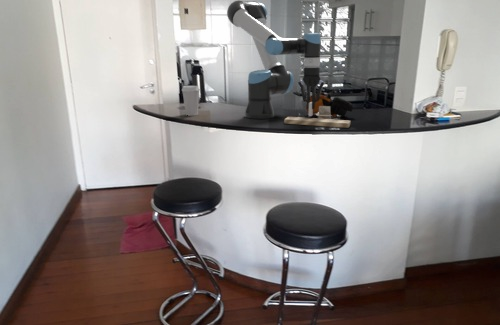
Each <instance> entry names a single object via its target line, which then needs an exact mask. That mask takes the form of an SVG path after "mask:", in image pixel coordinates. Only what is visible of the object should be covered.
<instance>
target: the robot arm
mask: <svg viewBox="0 0 500 325" xmlns="http://www.w3.org/2000/svg"><path fill="white" fill-rule="evenodd" d="M226 15H227V19H228V21H229V22H230V23H231V24H232V25H234V26H235V27H236V28H240V29H242V30H243V31H244V32H246V33H247V34H249V36H251V37H252V39H253V42H254V44H255V47H256V49H257V53H258V55H259V57H260V60H261V62H262V65H263V67H264V69H257V70H253V71H250V72H249V73H248V78H247V79H248V80H247V83H248V84H247V86H248V87H247V88H248V92H247V93H248V95H247V96H248V102H247V104H246V108H245V112H244V117H245V118H248V119H253V120H265V119H267V120H268V119H272V118H275V111H274V108H273V104H272V96H274V95H284V94H287V93H289V92H291V90H292V89H293V87H294V83H295V79H294V75H293V73H292V72H291V71H288V70H286V67H285V65H284V64H282V63H280V60H279V57H278V56H283V55H291V56H294V55H304V56H303V60H304V61H303V66H304V67H303V77H302V79H301V80H300V81H298V82H297V83H298V85H299V87H300V92H301V96H302V100H303V102H306V104H307V109H309V115H308V117H312V116H314V114H313V109H315V102H317V101H319V98H320V95H322V90H323V87H324V86H325V84H326V82H325V81H323V80H322V79H321V77H320V75H321V73H320V72H321V67H320V66H321V46H322V45H321V43H322V40H321V38H322V37H321V36H322V35H321V34H320V33H319V32H309V33H304V37H300V38H299V37H296V38H295V37H293V38H290V37H287V38H286V37H285V38H284V37H280V36H278V35H277V34H276V33H275V32H273V31H272V30H271V29H269V28H268V27H267V26H266V25H267V24H266V23H267V19H268V16H267V15H268V10H267V8H266V6H265V4H263V3H261V2H258V1H250V0H249V1H248V0H247V1H246V0H235V1H233V2H231V3H230V4H229V6H228V8H227V11H226ZM304 84H305V86H306V91H305V86H304ZM318 84H319V86H318ZM317 86H318V89H317V90H316V88H317ZM316 91H317V92H316ZM315 94H317V97H316V99H315ZM311 96H312V102H310V97H311ZM307 109H306V110H307Z"/></svg>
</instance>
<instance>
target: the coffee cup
mask: <svg viewBox="0 0 500 325" xmlns="http://www.w3.org/2000/svg"><path fill="white" fill-rule="evenodd" d="M200 90H201V89H200V87H199V86H198V85H184V86H182V89H181V91H182V96H183V104H184V105H183V106H184V112H185V116H187V115H188V116H187V117H192V116H198V115H199V100H200V97H199V96H200V94H199V93H200Z"/></svg>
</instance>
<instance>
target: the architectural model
mask: <svg viewBox="0 0 500 325" xmlns="http://www.w3.org/2000/svg"><path fill="white" fill-rule="evenodd" d="M330 107H331V106H319V112H318V113H315V115H316V116H317V117H318V119H332V116H331V112H330Z"/></svg>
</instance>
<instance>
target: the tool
mask: <svg viewBox="0 0 500 325" xmlns="http://www.w3.org/2000/svg"><path fill="white" fill-rule="evenodd" d="M316 97H317V93H316V94H315V99H316ZM310 102H312V95H310ZM354 105H355V104H354V102H349V101H348V100H345V99H343V98H342V97H339V96H334V97H333V99H332V94H331V93H328V95H323V94H320V98H319V101H317V102H315V109H313V115H315V114H319V106H331V107H330V112H331V117H333V118H336V117H337V116H339V117H340V116H341V117H345V115H346V113H347V112H352V111H353V110H354ZM305 108H306V113H307V114H308V115H307V116H309V109H307V103H306V105H305Z"/></svg>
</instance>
